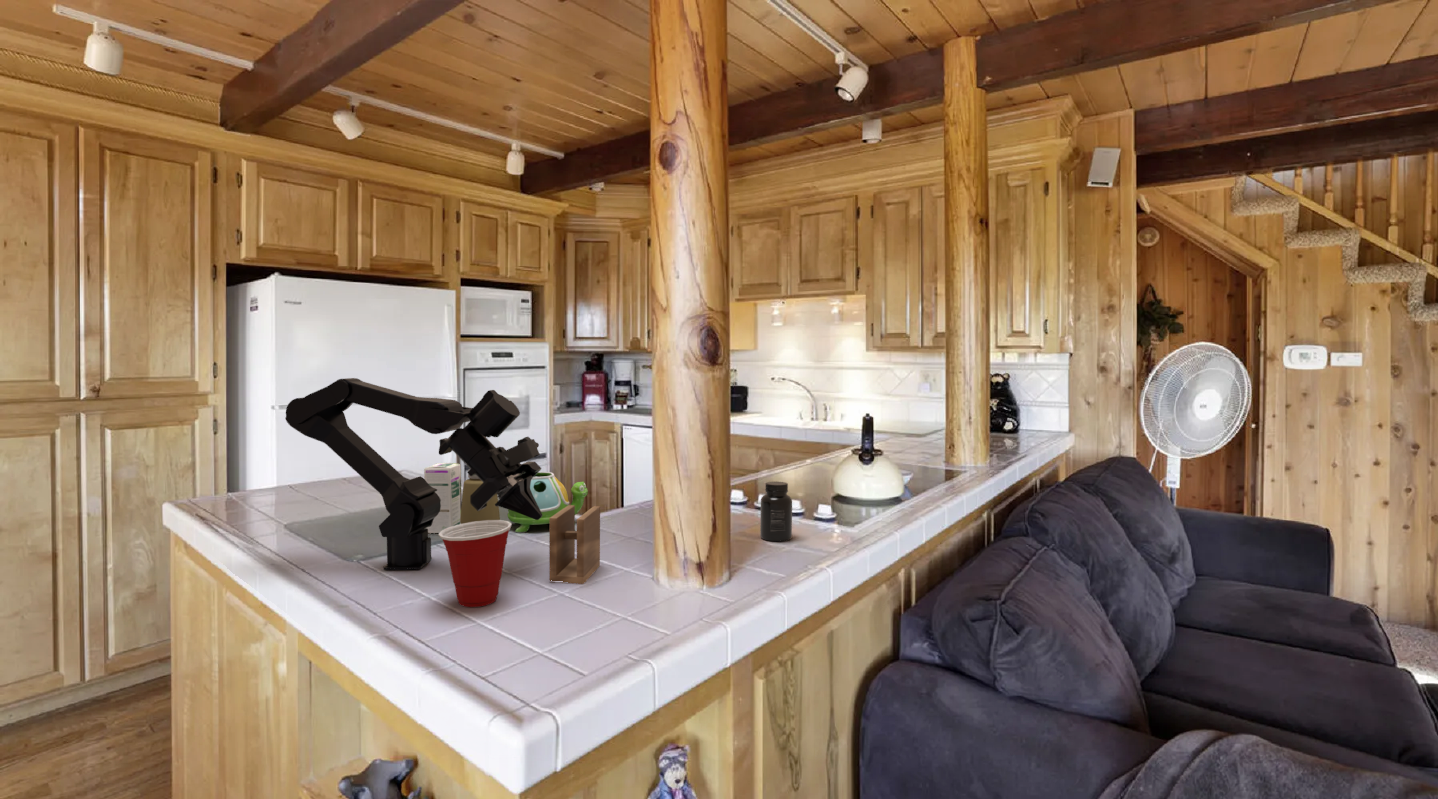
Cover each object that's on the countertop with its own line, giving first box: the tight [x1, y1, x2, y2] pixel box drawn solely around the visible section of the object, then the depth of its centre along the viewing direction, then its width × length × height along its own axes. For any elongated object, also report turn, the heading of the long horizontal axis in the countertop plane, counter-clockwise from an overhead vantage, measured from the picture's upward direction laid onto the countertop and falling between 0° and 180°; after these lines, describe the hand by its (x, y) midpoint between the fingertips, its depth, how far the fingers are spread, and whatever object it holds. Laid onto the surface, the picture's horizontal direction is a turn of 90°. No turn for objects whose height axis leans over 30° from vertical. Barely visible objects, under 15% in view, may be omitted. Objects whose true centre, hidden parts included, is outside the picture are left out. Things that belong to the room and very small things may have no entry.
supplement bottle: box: [759, 481, 793, 542], centre depth 145 cm, size 7×7×12 cm
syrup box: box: [423, 462, 462, 534], centre depth 147 cm, size 6×6×14 cm
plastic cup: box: [438, 519, 512, 608], centre depth 106 cm, size 11×11×12 cm
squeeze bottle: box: [460, 468, 501, 524], centre depth 142 cm, size 8×8×18 cm
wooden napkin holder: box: [548, 504, 601, 585], centre depth 120 cm, size 6×10×11 cm, turn 174°
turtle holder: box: [507, 471, 589, 533], centre depth 153 cm, size 12×18×12 cm
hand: (540, 518), depth 120 cm, fingers closed
